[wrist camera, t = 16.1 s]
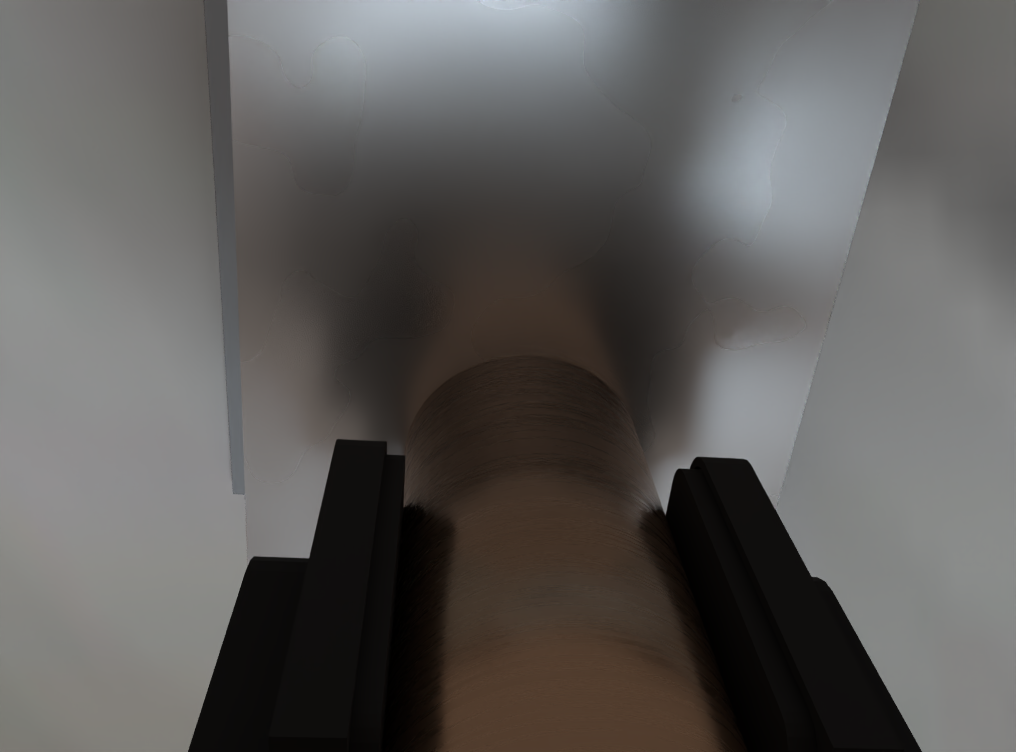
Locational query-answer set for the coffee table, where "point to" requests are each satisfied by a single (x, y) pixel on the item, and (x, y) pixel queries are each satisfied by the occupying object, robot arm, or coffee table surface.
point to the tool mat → (225, 220)
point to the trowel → (542, 318)
